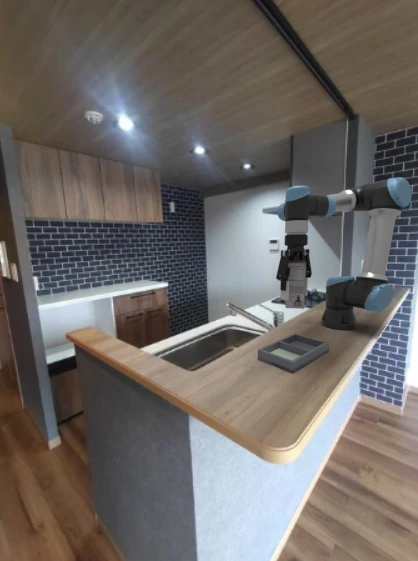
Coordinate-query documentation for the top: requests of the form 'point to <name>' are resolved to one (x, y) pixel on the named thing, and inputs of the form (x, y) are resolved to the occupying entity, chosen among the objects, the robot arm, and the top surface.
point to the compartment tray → (293, 352)
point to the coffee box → (296, 284)
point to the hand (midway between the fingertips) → (294, 297)
